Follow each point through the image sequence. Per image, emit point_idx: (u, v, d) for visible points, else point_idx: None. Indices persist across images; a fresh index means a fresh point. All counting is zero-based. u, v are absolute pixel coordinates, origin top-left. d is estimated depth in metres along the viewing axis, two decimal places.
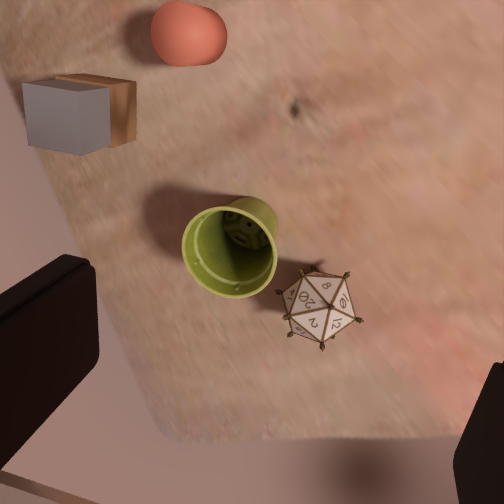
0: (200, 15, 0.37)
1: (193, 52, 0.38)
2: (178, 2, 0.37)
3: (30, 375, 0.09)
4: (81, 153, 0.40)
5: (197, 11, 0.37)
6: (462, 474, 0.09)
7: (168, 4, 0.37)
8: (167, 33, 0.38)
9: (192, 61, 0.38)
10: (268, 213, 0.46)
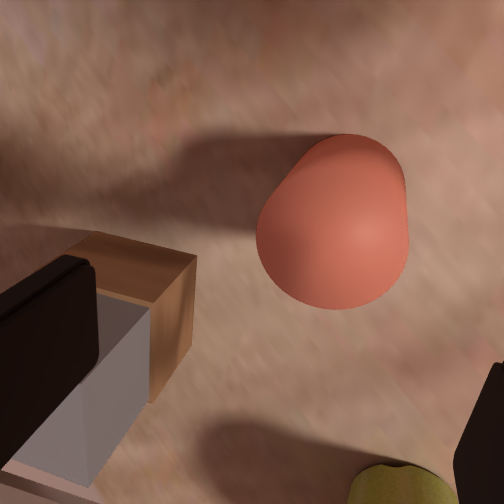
0: (398, 205, 0.14)
1: (368, 286, 0.15)
2: (342, 174, 0.14)
3: (30, 375, 0.09)
4: (89, 482, 0.18)
5: (391, 196, 0.14)
6: (462, 474, 0.09)
7: (313, 176, 0.14)
8: (300, 239, 0.15)
9: (361, 303, 0.15)
10: None
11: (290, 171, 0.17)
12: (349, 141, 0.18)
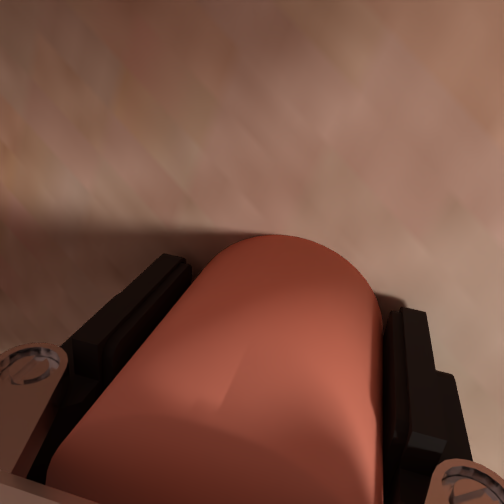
0: (357, 498, 0.06)
1: None
2: (209, 429, 0.05)
3: None
4: None
5: (338, 478, 0.05)
6: None
7: (143, 424, 0.06)
8: None
9: None
10: None
11: (153, 331, 0.09)
12: (274, 263, 0.09)
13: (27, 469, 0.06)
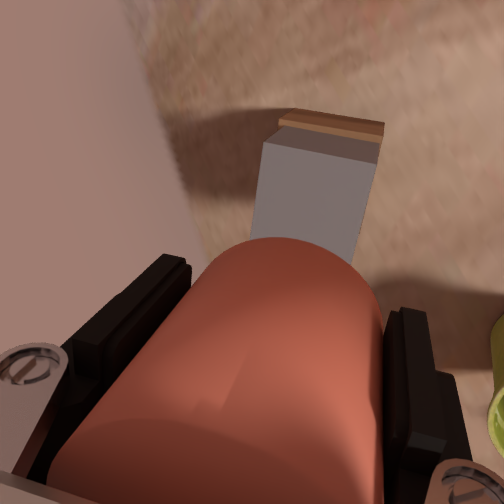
0: (357, 503, 0.06)
1: None
2: (209, 433, 0.05)
3: None
4: (350, 263, 0.23)
5: (339, 483, 0.05)
6: None
7: (143, 428, 0.06)
8: None
9: None
10: None
11: None
12: (274, 265, 0.09)
13: (27, 469, 0.06)
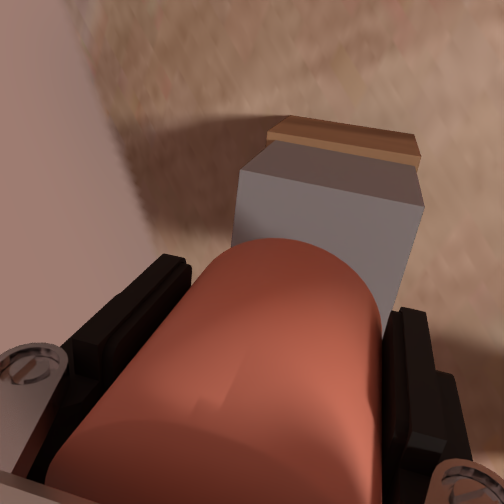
0: None
1: None
2: (207, 435, 0.05)
3: None
4: None
5: (337, 484, 0.05)
6: None
7: (141, 429, 0.06)
8: None
9: None
10: None
11: (152, 334, 0.09)
12: (273, 266, 0.09)
13: (27, 469, 0.06)
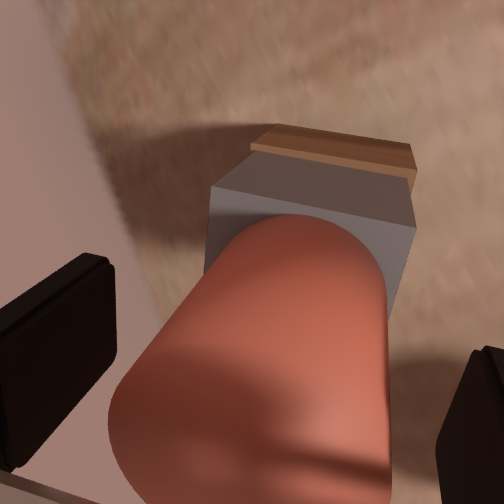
0: (370, 412, 0.07)
1: None
2: (253, 354, 0.07)
3: (54, 371, 0.09)
4: None
5: (356, 395, 0.07)
6: (443, 459, 0.10)
7: (198, 352, 0.07)
8: (188, 451, 0.08)
9: None
10: None
11: (189, 293, 0.10)
12: (293, 236, 0.11)
13: None
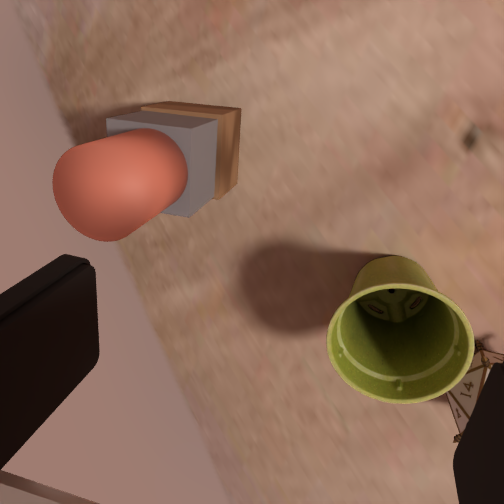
0: (132, 165, 0.22)
1: (126, 222, 0.23)
2: (93, 146, 0.21)
3: (30, 375, 0.09)
4: (189, 214, 0.28)
5: (127, 159, 0.22)
6: (462, 474, 0.09)
7: (77, 149, 0.22)
8: (80, 192, 0.23)
9: (126, 234, 0.23)
10: (430, 279, 0.34)
11: None
12: (133, 131, 0.25)
13: None
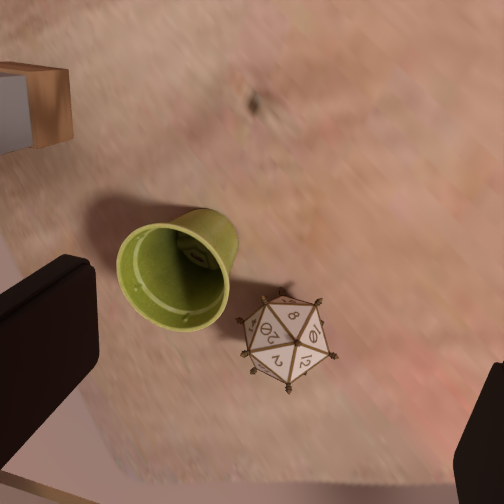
0: None
1: None
2: None
3: (30, 375, 0.09)
4: None
5: None
6: (462, 474, 0.09)
7: None
8: None
9: None
10: (224, 228, 0.39)
11: None
12: None
13: None
